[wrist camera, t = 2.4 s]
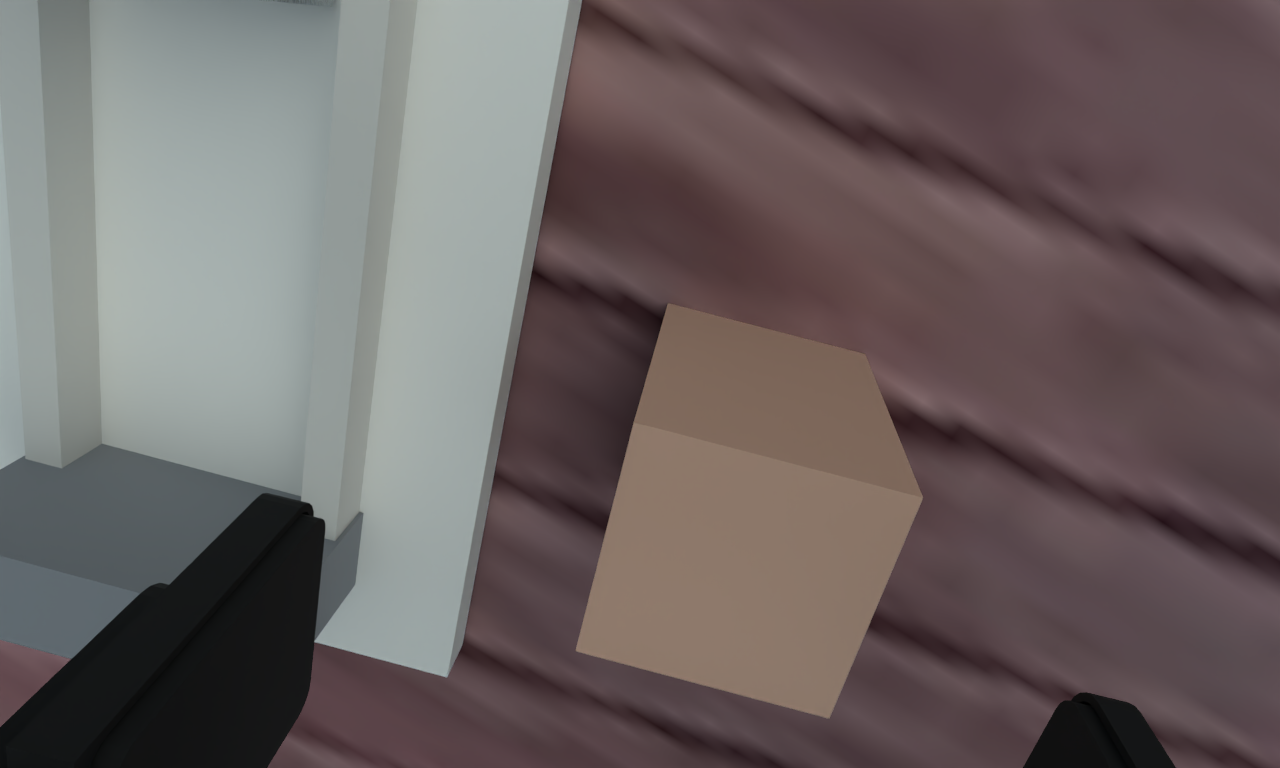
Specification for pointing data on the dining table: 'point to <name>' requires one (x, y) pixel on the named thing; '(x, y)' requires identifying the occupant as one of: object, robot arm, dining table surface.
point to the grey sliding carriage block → (308, 2)
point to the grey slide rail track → (264, 294)
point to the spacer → (751, 515)
